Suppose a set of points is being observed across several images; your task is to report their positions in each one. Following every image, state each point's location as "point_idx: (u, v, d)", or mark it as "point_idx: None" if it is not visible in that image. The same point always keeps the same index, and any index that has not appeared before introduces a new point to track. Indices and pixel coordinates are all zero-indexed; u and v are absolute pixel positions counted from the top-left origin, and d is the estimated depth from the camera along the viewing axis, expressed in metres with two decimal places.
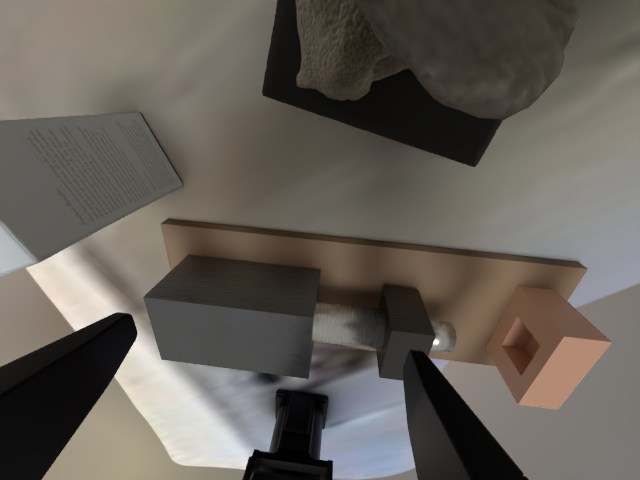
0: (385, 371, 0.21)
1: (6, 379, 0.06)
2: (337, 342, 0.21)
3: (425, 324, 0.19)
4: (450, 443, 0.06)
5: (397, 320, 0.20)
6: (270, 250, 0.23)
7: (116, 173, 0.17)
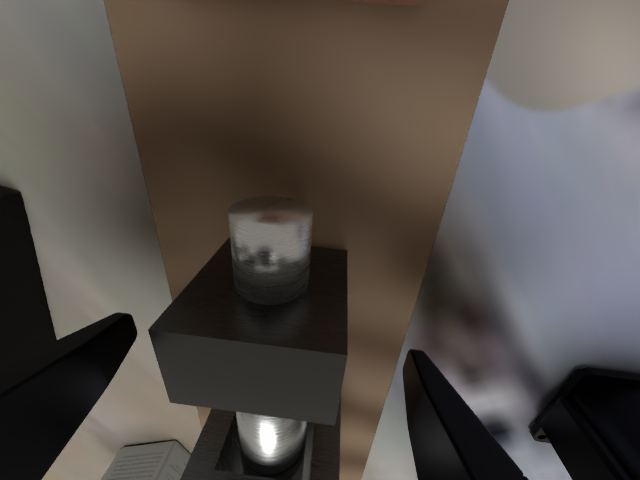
0: (310, 414, 0.08)
1: (6, 379, 0.06)
2: (276, 439, 0.11)
3: None
4: (450, 443, 0.06)
5: None
6: None
7: None
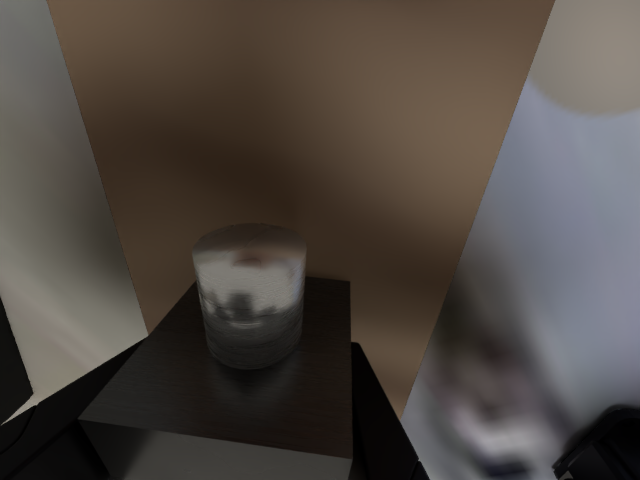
0: None
1: (89, 391, 0.06)
2: None
3: None
4: (357, 430, 0.06)
5: None
6: None
7: None
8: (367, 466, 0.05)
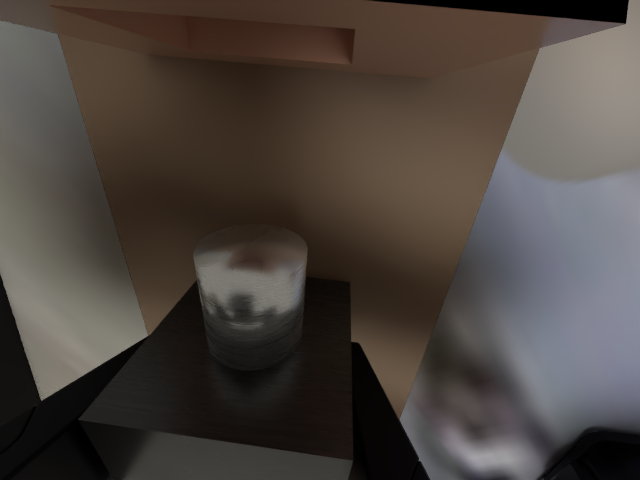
0: None
1: (90, 391, 0.06)
2: None
3: None
4: (357, 430, 0.06)
5: None
6: None
7: None
8: (367, 466, 0.05)
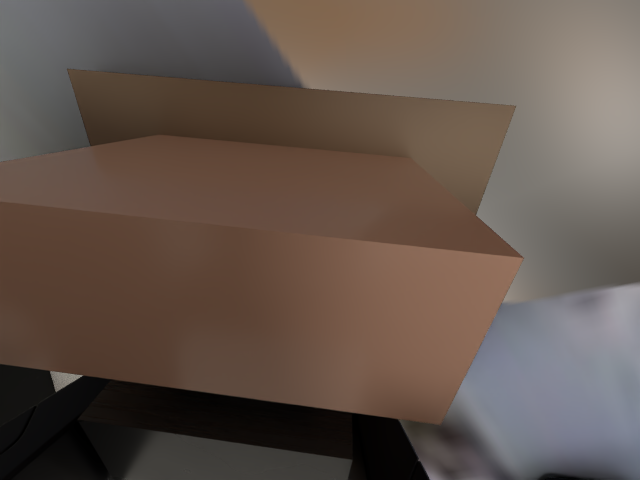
0: None
1: (90, 391, 0.06)
2: None
3: None
4: (357, 430, 0.06)
5: None
6: None
7: None
8: (367, 466, 0.05)
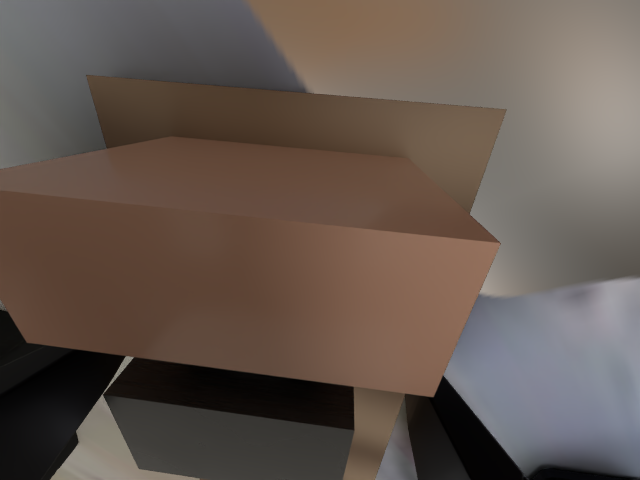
0: None
1: (6, 379, 0.06)
2: None
3: None
4: (450, 443, 0.06)
5: None
6: None
7: None
8: None
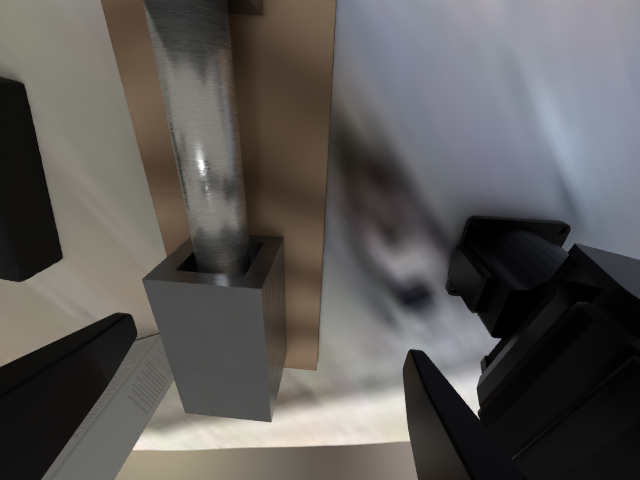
0: None
1: (6, 379, 0.06)
2: (194, 92, 0.11)
3: None
4: (450, 443, 0.06)
5: None
6: None
7: None
8: None
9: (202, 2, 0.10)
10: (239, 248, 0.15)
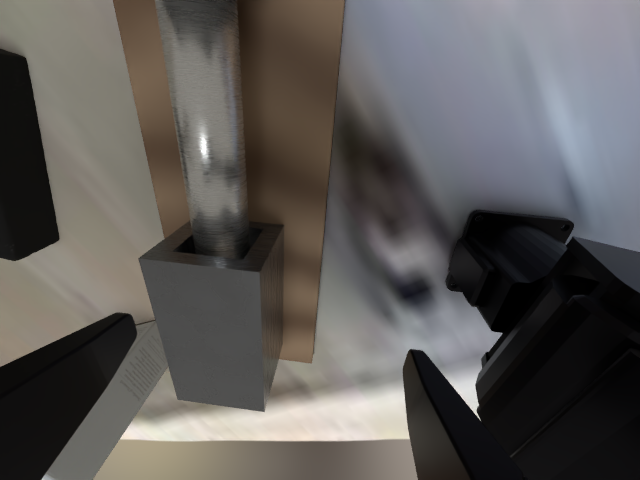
0: None
1: (6, 379, 0.06)
2: (198, 65, 0.11)
3: None
4: (450, 443, 0.06)
5: None
6: None
7: None
8: None
9: None
10: (238, 232, 0.15)
